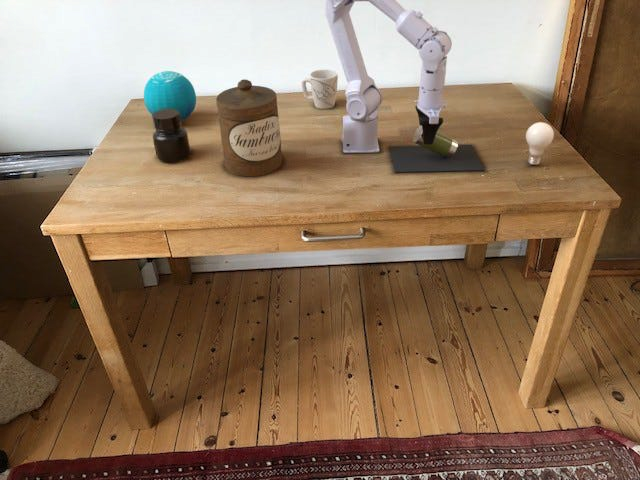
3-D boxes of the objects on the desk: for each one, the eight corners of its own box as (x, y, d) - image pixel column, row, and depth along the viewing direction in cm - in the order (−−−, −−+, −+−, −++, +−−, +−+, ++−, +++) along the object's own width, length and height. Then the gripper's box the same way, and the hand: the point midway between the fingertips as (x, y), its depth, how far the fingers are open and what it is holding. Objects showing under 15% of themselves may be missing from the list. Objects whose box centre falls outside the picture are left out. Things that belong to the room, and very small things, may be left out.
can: (448, 161, 139) (414, 145, 136) (445, 152, 143) (411, 137, 140) (459, 146, 136) (424, 129, 134) (455, 137, 140) (421, 121, 138)
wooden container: (240, 182, 134) (228, 96, 121) (216, 159, 144) (203, 77, 131) (292, 166, 140) (287, 82, 127) (266, 145, 150) (258, 65, 138)
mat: (395, 173, 136) (395, 171, 135) (389, 147, 147) (389, 146, 147) (484, 171, 135) (484, 169, 135) (471, 145, 147) (471, 144, 146)
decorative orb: (176, 135, 157) (166, 84, 148) (138, 126, 163) (127, 76, 155) (210, 116, 168) (202, 68, 159) (173, 108, 174) (163, 61, 165)
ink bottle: (180, 145, 152) (172, 103, 145) (198, 154, 147) (191, 112, 140) (149, 157, 147) (139, 114, 140) (167, 167, 141) (158, 124, 134)
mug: (298, 108, 171) (296, 77, 165) (307, 98, 177) (305, 68, 171) (333, 111, 168) (333, 79, 162) (341, 101, 174) (340, 70, 169)
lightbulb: (533, 172, 134) (542, 131, 127) (514, 162, 138) (522, 121, 132) (552, 166, 136) (562, 125, 130) (533, 156, 141) (542, 116, 134)
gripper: (454, 97, 124) (447, 151, 132) (443, 75, 136) (437, 126, 144) (423, 98, 124) (418, 152, 132) (414, 76, 136) (410, 126, 144)
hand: (426, 138), depth 138 cm, fingers closed on can, 5 cm apart
